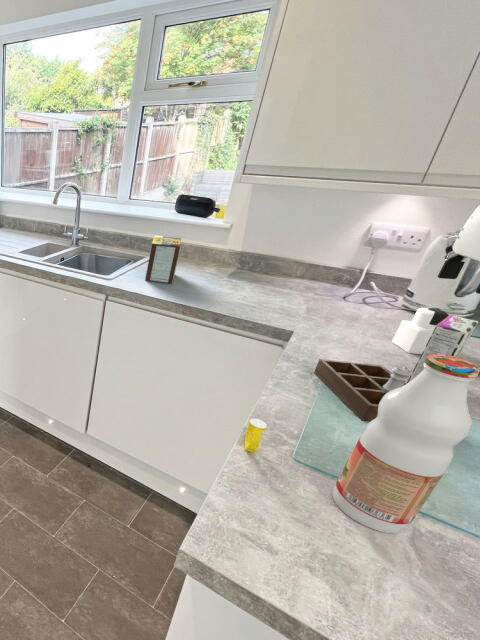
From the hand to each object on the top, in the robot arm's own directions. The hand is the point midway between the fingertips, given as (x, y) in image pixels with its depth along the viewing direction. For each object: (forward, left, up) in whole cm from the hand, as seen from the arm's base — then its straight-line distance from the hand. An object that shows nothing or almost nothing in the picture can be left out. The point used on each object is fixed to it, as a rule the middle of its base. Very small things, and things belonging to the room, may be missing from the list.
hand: (464, 285), depth 88 cm
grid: (+12, +7, -26) cm, 30 cm away
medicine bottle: (-16, -24, -26) cm, 39 cm away
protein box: (+43, -74, -26) cm, 90 cm away
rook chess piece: (+9, +7, -26) cm, 28 cm away
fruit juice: (+32, +43, -26) cm, 60 cm away
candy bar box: (-6, -4, -26) cm, 27 cm away
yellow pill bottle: (+45, +31, -26) cm, 61 cm away
